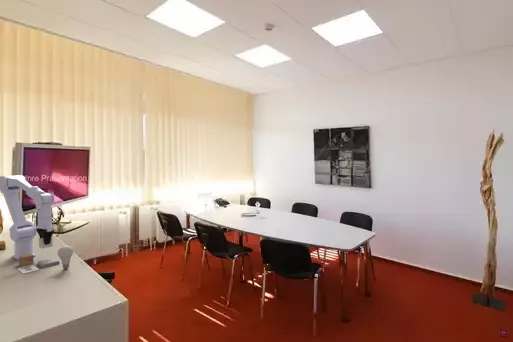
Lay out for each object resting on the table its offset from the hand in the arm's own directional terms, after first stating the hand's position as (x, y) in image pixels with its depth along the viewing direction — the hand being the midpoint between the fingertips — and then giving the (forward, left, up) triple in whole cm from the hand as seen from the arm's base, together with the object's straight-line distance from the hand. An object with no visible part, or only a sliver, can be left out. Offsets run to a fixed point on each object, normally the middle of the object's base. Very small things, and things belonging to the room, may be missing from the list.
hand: (45, 243), depth 144 cm
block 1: (0, -8, -8) cm, 12 cm away
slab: (+9, -2, -8) cm, 12 cm away
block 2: (0, 0, -2) cm, 2 cm away
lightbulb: (+23, +1, -9) cm, 25 cm away
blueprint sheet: (+9, -10, -8) cm, 15 cm away
